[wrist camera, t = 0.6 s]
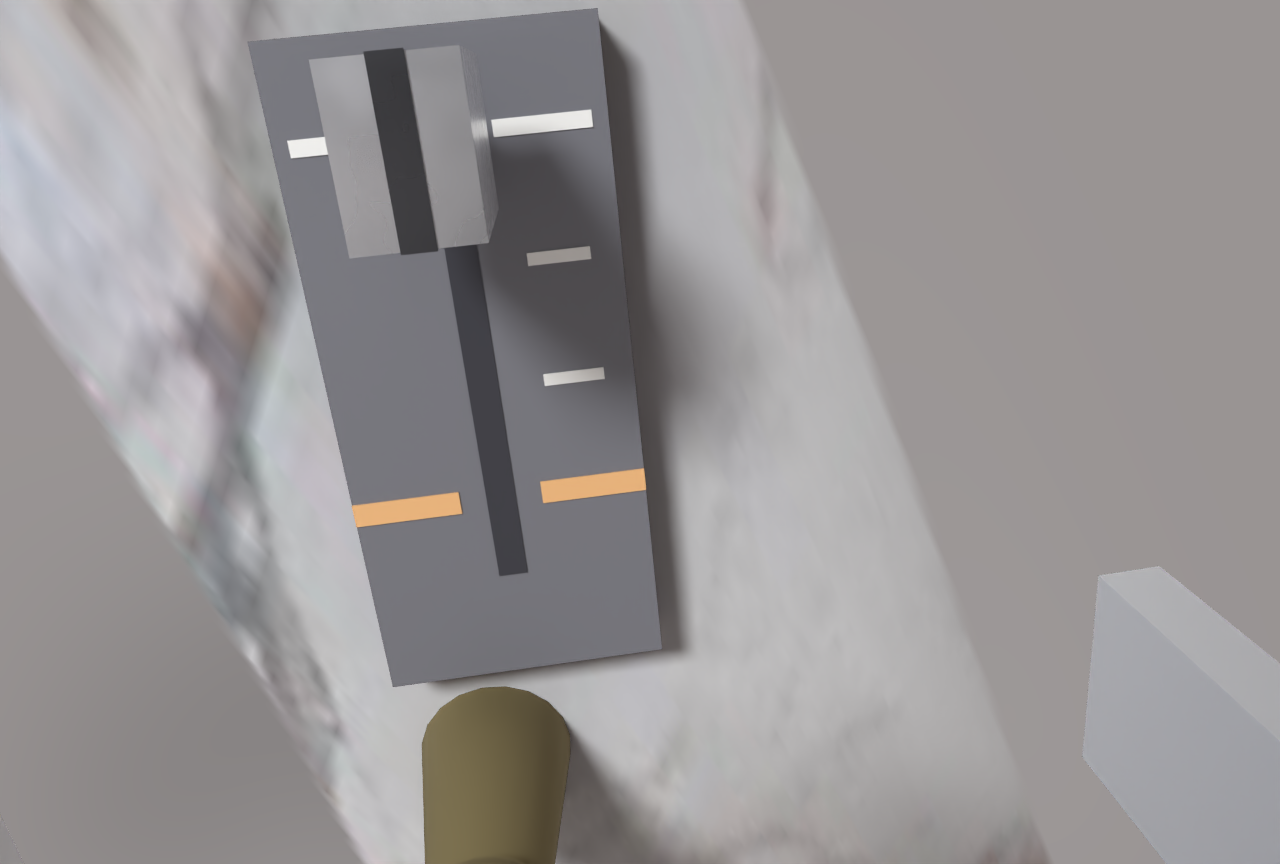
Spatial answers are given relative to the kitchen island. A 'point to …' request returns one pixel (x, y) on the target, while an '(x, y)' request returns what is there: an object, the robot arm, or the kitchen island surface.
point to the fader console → (484, 367)
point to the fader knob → (407, 149)
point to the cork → (494, 779)
